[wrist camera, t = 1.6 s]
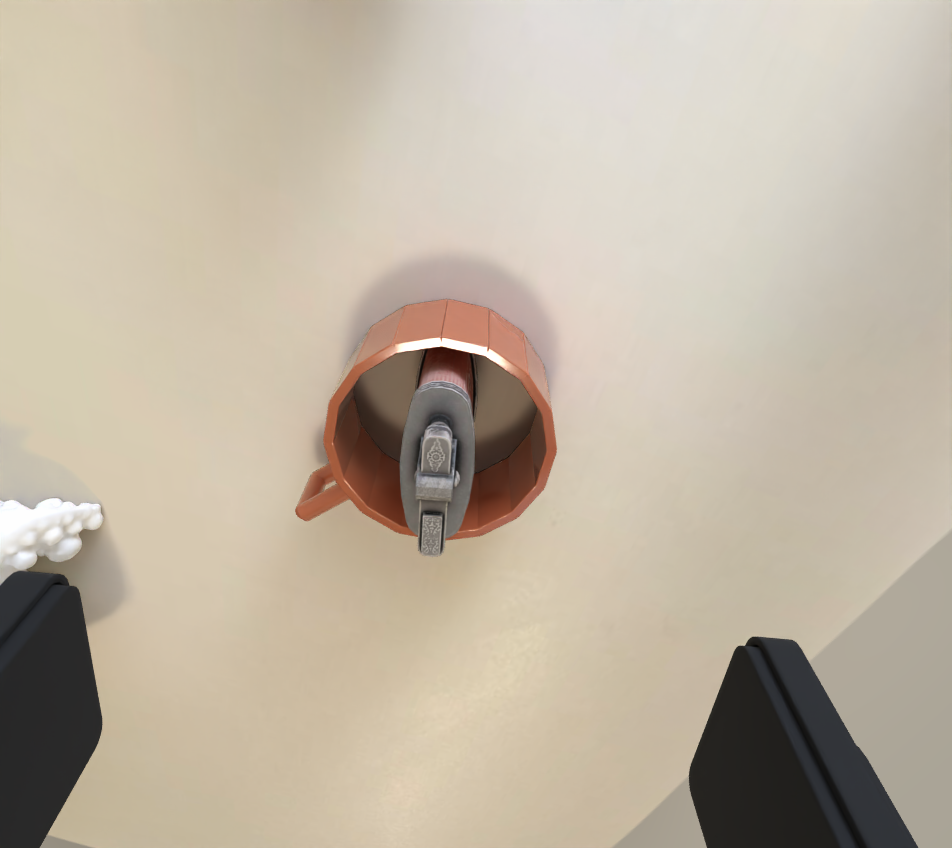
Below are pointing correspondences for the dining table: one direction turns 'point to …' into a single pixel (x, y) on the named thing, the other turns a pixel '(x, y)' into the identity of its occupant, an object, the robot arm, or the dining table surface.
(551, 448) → the mug
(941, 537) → the dining table surface
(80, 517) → the cauliflower
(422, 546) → the lighter
